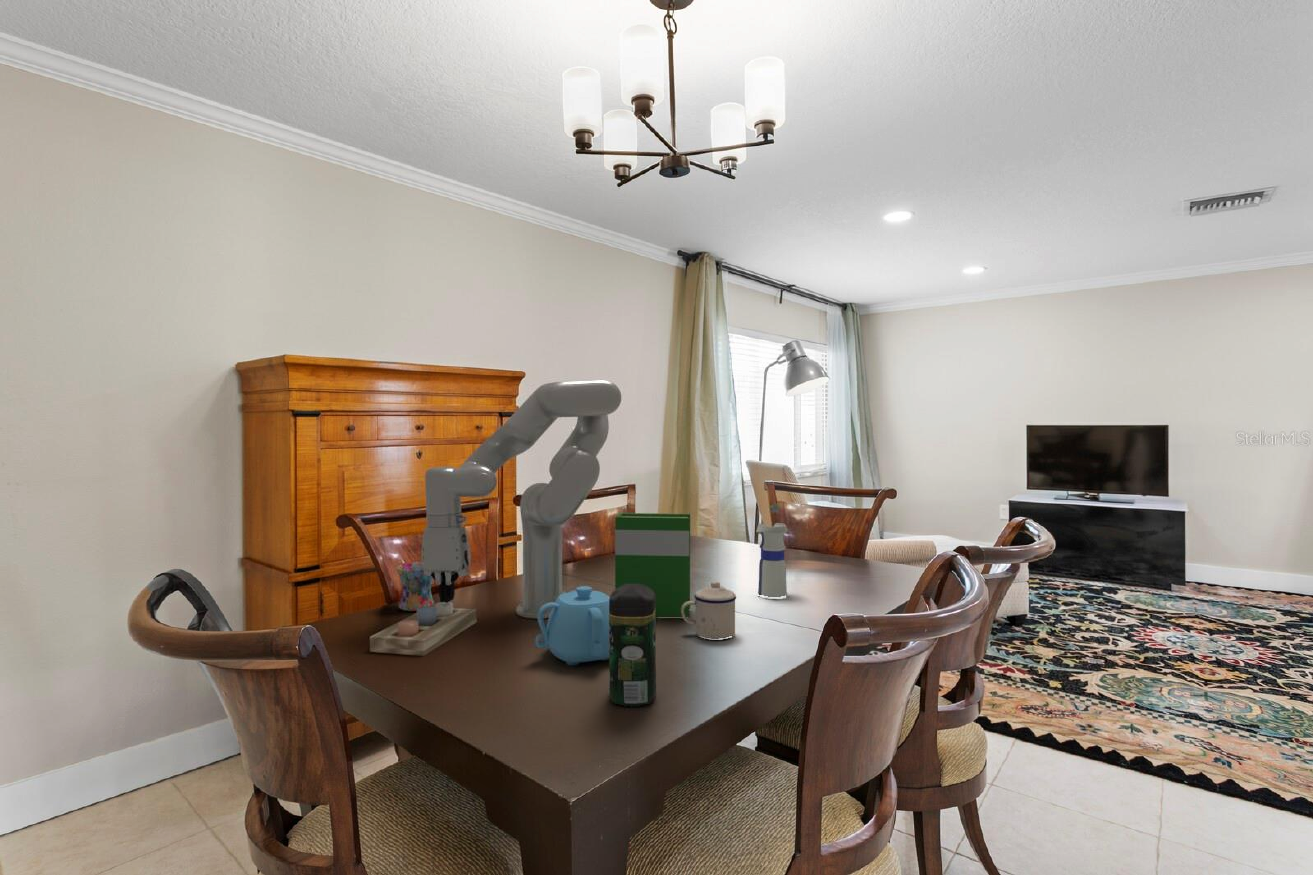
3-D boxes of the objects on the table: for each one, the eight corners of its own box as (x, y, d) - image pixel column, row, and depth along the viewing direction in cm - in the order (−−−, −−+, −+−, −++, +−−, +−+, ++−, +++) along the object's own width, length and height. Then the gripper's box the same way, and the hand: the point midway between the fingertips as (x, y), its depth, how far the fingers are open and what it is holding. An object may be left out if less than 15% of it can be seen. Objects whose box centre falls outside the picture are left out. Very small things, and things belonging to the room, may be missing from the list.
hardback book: (690, 610, 157) (690, 513, 157) (689, 619, 150) (689, 518, 149) (619, 608, 159) (619, 513, 158) (615, 617, 151) (615, 517, 151)
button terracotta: (422, 638, 132) (422, 620, 132) (411, 644, 128) (411, 626, 128) (405, 637, 133) (404, 619, 133) (393, 643, 129) (393, 625, 129)
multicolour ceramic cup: (420, 615, 153) (420, 571, 152) (388, 611, 155) (388, 568, 155) (450, 601, 164) (450, 561, 164) (419, 599, 167) (419, 558, 167)
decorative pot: (525, 661, 123) (525, 591, 123) (574, 636, 137) (574, 574, 137) (594, 677, 115) (594, 603, 115) (639, 649, 129) (639, 583, 129)
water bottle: (751, 592, 174) (752, 501, 173) (782, 591, 175) (782, 501, 174) (760, 600, 166) (760, 505, 165) (791, 599, 167) (792, 505, 166)
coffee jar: (612, 684, 112) (612, 579, 112) (657, 685, 112) (657, 580, 111) (605, 708, 102) (605, 594, 102) (654, 709, 102) (654, 595, 102)
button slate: (440, 623, 139) (440, 606, 139) (430, 628, 135) (430, 611, 135) (423, 622, 140) (423, 605, 140) (413, 627, 136) (413, 610, 136)
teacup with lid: (734, 628, 143) (734, 577, 142) (737, 642, 134) (737, 587, 133) (681, 627, 143) (681, 576, 143) (680, 641, 134) (681, 586, 134)
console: (476, 622, 147) (476, 609, 147) (423, 655, 125) (423, 640, 125) (429, 619, 149) (429, 606, 149) (369, 651, 128) (369, 636, 128)
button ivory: (456, 618, 146) (456, 602, 146) (447, 623, 142) (447, 607, 142) (440, 617, 147) (440, 601, 147) (431, 622, 143) (430, 606, 143)
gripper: (482, 518, 146) (484, 597, 147) (423, 518, 149) (426, 595, 150) (466, 524, 139) (469, 607, 139) (405, 523, 142) (408, 604, 142)
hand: (447, 600), depth 145 cm, fingers closed
